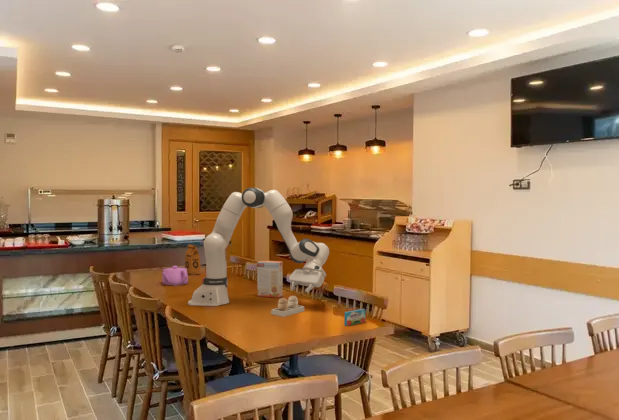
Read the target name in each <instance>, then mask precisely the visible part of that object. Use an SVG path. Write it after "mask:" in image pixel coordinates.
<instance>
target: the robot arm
mask: <svg viewBox="0 0 619 420" xmlns="http://www.w3.org/2000/svg"><path fill="white" fill-rule="evenodd" d="M247 207H248V208H252V209H260V208H263V207H265V208H266V209H267V211H268V213H269V214H270V215H271V218H273V221H274V223H275V224H276V228H277V230H278V232H279V233H280V236H281V238H282V240H283V241H284V244H285V245H286V247H287V251H288V253H289V258H290V259H291V261H292V262H294V263H295V264H302V263H305V264H304V265H303V267H302V268H301V267H298V268H296V269H294V271H293V272H292V273H291V274H290V276H289V277H288V281H289V282H290V283H291V288H290V289H291V290H292V291H295V290H296V286H297V285H301V286H307V287H306V288H305V289H304V292H305V293H310V291H312V289H314V288H320V287H321V286H322V285H323V283H324V282H325V278H326V277H327V273H326V271H325V270H324V269H323V265H324V264H326V261H327V260H328V258H329V255H330V248H329V247H328V245H327V244H325V243H324V242H315V241H313V240H312V239H310V238H303V239H301V240H300V241H299V242H298V241H297V238H296V237H295V235H294V233H293V230H292V220H293V216H294V215H293V213H294V212H293V209H292V208H291V206H290V205H289V202H287V200H286V198H284V196H283V195H282V193H280V192H279V191H278V190H277V189H271V190H268V191H267V192H265V191H264V190H263V189H261V188H258V187H247V188H246V189H244V190H243V192H242V193H241V192H238V191H234V192H232V193H230V194H229V196H228V197H227V199H226V201H225V202H224V204H223V206H222V207H221V210H220V211H219V214H218V216H217V218H216V220H215V223H214V227H213V229H212V231H211V232H210V234H208V235H206V236H205V239H204V240H203V248H204V256H205V263H206V264H205V265H206V266H205V267H206V270H205V272H206V274H205V276H203V277H202V284H201V285H200V286H199V287H198V288H196V289H195V290H194V291H193V292H192V296H191V299H189V300H188V301H187V305H188V306H196V307H197V306H199V307H200V306H203V307H204V306H205V307H218V306H221V305H226V304H229V303H230V299H229V298H230V297H229V295H228V281H229V279H228V277H227V260H226V251H225V250H226V249H227V247H228V245H229V243H230V241H231V239H232V236H233V233H234V231H235V228H236V226H237V225H238V223H239V220H240V218H241V217H242V214H243V213H244V211H245V209H246V208H247Z"/></svg>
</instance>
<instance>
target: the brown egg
mask: <svg viewBox="0 0 619 420" xmlns="http://www.w3.org/2000/svg"><path fill="white" fill-rule="evenodd" d="M277 308H278V311H283V312H284V311H288V299H287V298H285V297H280V298H278V301H277Z"/></svg>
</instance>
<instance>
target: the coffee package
mask: <svg viewBox="0 0 619 420" xmlns="http://www.w3.org/2000/svg"><path fill="white" fill-rule="evenodd" d="M187 247H188V248H187V250H186V252H185V254H184V268H187V275H190V276H196V275H195V274H199V275H201V257H200V254H199V251H198V248H197V245H195V244H188V245H187Z"/></svg>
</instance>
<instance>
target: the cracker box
mask: <svg viewBox="0 0 619 420" xmlns="http://www.w3.org/2000/svg"><path fill="white" fill-rule="evenodd" d="M256 263H257V266H256V267H257V268H256V269H257V274H256V275H257V282H256V283H257V286H256V287H257V297H264V298H277V299H280V298H283V295H284V294H283V289H284V288H283V287H284V285H283V279H284V278H283V274H284V273H283V272H284V271H283V261H281V260H280V261H278V260H259V261H257V262H256Z"/></svg>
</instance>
